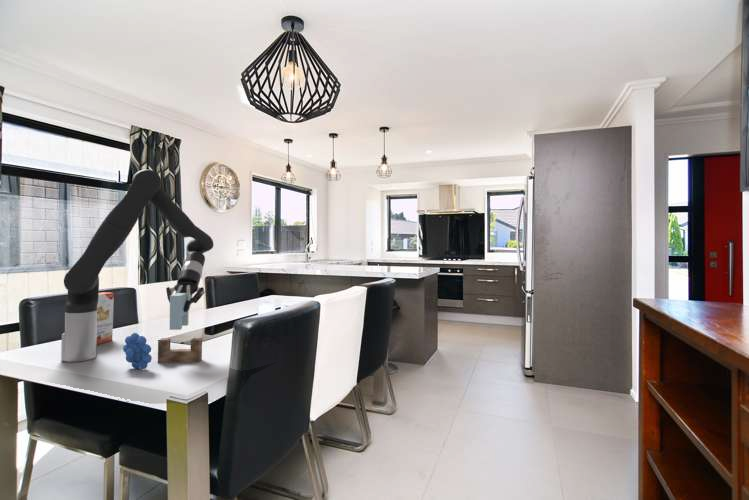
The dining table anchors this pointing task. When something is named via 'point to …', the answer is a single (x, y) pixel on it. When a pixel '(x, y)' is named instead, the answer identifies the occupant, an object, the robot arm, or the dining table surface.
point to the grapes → (137, 351)
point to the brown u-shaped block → (179, 352)
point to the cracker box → (105, 317)
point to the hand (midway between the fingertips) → (179, 310)
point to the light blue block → (178, 311)
